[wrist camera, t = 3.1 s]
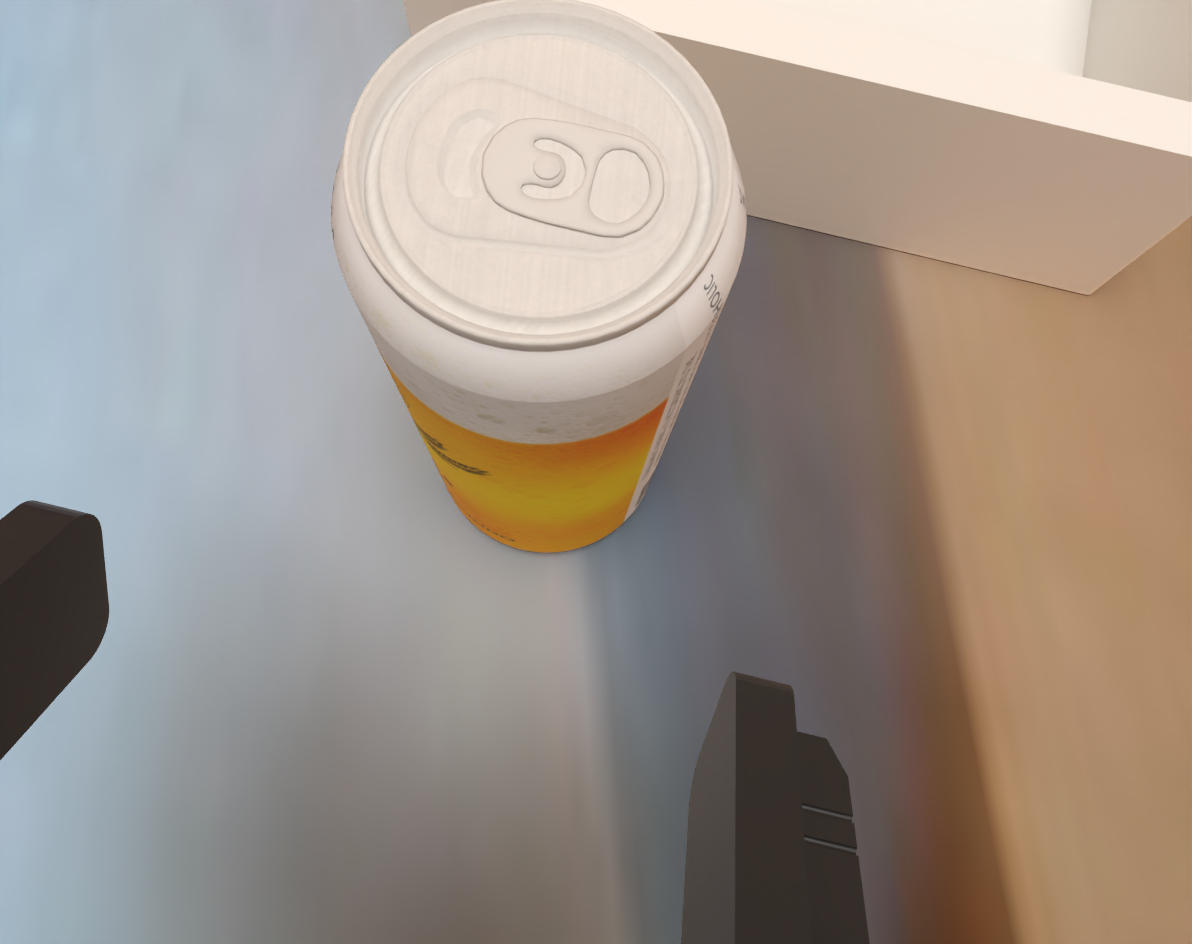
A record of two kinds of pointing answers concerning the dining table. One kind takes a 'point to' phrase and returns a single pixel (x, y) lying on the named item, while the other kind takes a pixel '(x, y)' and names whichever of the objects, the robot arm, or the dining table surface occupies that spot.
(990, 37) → the white rectangular tray
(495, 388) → the beer can
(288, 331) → the dining table surface
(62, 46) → the dining table surface
